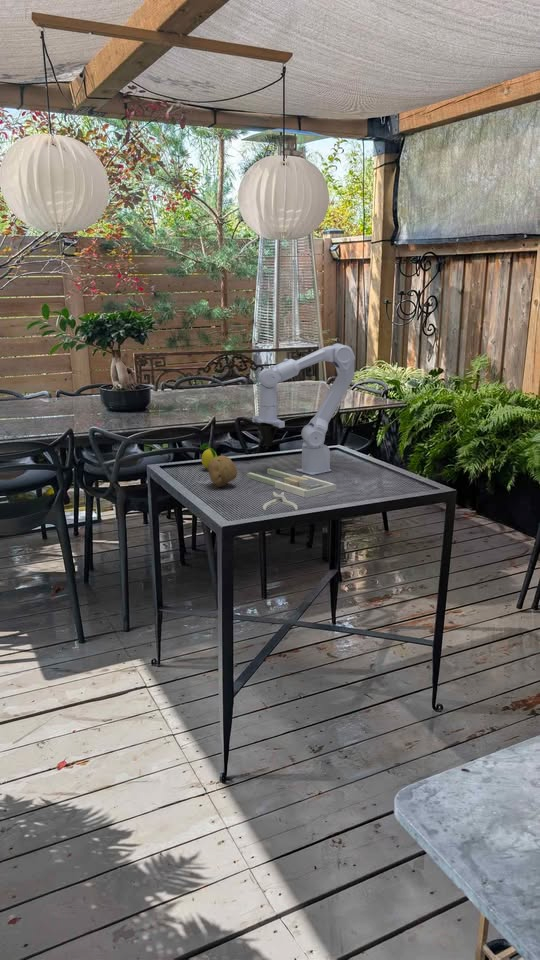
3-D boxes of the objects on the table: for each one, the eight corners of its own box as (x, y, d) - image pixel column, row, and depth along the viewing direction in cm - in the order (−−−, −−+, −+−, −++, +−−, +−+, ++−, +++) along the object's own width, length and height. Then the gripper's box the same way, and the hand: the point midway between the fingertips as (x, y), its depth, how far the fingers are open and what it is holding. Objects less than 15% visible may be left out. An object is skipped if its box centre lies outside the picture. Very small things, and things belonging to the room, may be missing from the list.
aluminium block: (310, 488, 220) (310, 479, 219) (322, 492, 215) (323, 483, 215) (297, 491, 217) (298, 481, 216) (310, 495, 212) (310, 485, 212)
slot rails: (270, 472, 238) (270, 468, 237) (300, 481, 227) (300, 477, 226) (247, 477, 232) (247, 473, 231) (276, 486, 221) (276, 482, 220)
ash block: (295, 484, 224) (295, 475, 224) (308, 488, 220) (308, 479, 219) (283, 487, 221) (284, 478, 220) (296, 491, 217) (296, 481, 216)
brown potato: (237, 482, 225) (237, 452, 222) (236, 490, 216) (236, 459, 214) (209, 483, 225) (208, 452, 222) (207, 490, 216) (206, 459, 214)
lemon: (200, 468, 244) (200, 439, 241) (217, 467, 244) (217, 439, 242) (200, 472, 237) (200, 443, 235) (218, 472, 238) (217, 443, 235)
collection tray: (304, 481, 227) (304, 475, 227) (335, 490, 216) (336, 484, 216) (274, 487, 219) (274, 481, 219) (306, 497, 209) (306, 491, 208)
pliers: (262, 506, 196) (261, 491, 211) (262, 511, 197) (261, 496, 211) (298, 506, 196) (294, 491, 211) (298, 511, 197) (294, 496, 211)
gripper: (245, 404, 234) (245, 444, 238) (273, 409, 223) (273, 451, 227) (261, 402, 239) (261, 441, 242) (289, 407, 228) (289, 448, 231)
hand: (268, 445), depth 235 cm, fingers closed
